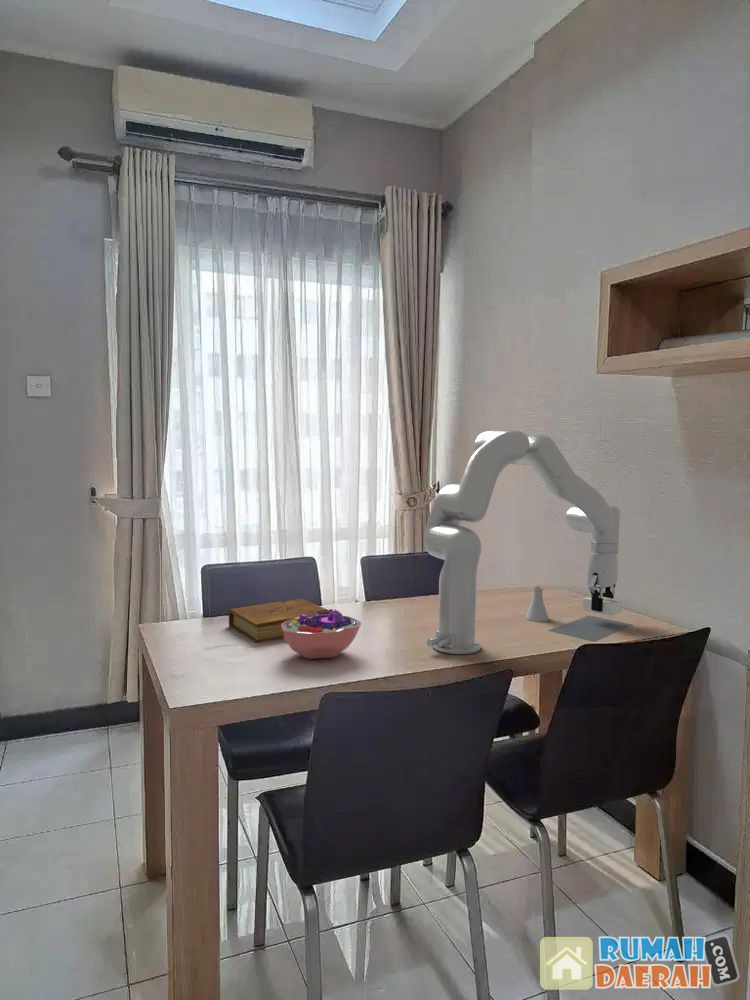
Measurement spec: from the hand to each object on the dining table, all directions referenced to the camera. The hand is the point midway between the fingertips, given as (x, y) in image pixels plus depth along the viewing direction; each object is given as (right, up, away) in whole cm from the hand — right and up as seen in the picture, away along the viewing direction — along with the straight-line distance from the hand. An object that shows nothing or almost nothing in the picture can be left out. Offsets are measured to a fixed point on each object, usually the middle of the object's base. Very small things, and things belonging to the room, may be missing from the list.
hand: (602, 608), depth 200 cm
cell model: (-80, -7, -30) cm, 86 cm away
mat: (-4, -5, -4) cm, 8 cm away
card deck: (0, -1, 0) cm, 1 cm away
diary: (-93, -5, -7) cm, 94 cm away
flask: (-18, -5, +5) cm, 19 cm away
